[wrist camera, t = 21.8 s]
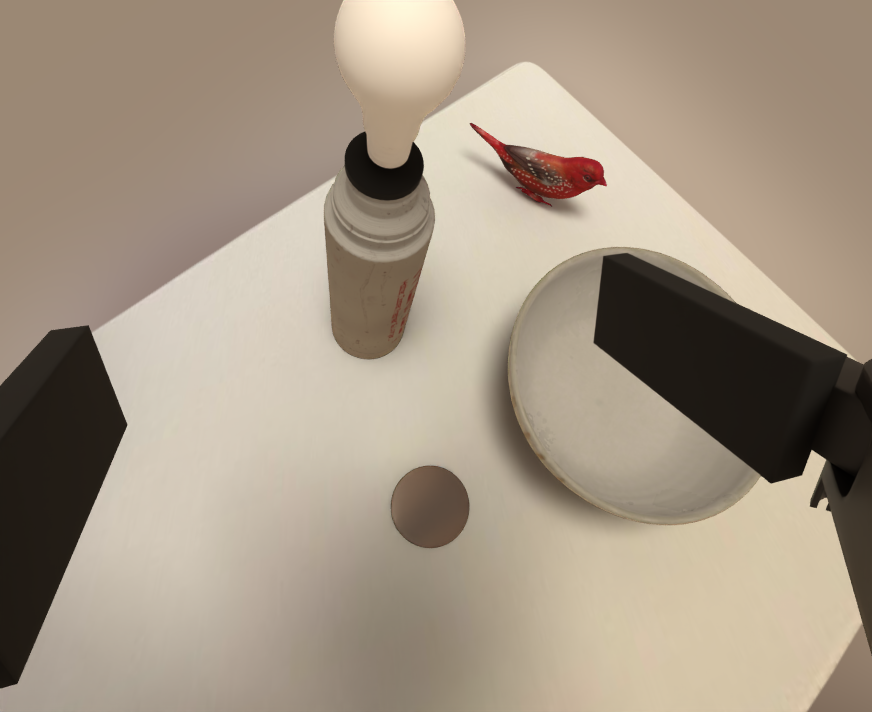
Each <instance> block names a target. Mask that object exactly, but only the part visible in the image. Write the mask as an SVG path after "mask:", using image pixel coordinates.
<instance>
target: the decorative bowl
mask: <svg viewBox="0 0 872 712" xmlns="http://www.w3.org/2000/svg"><path fill="white" fill-rule="evenodd" d="M621 253H629V254H631V255H633V256H635V257H637V258H640V259H642V260H644V261H646V262H648V263H650V264H652V265H655V266H657V267H659V268H661V269H663V270H665V271H668V272H670V273H672V274H674V275H676V276H678V277H681V278H683V279H685V280H687V281H689V282H691V283H693V284H696V285H698V286H700V287H702V288H704V289H706V290H709V291H711V292H713V293H715V294H717V295H719V296H722V297H724V298H726V299H728V300H730V301H732V302H735V301H734V300H733V299H732V298H731V297H730V296H729V295H728V294H727V293H726V292H725V291H724V290H723V289H722V288H721V287H720V286H718V285H717V284H716V283H715V282H713V281H712V280H711V279H710V278H708V277H707V276H705V275H704V274H703V273H701V272H699V271H698V270H696V269H695V268H693V267H691V266H689V265H687V264H686V263H684V262H681V261H679V260H677V259H675V258H672V257H670V256H667V255H664V254H661V253H658V252H654V251H650V250H645V249H639V248H630V247H611V248H602V249H596V250H592V251H588V252H585V253H582V254H579V255H577V256H574V257H572V258H570V259H568V260H566V261H564V262H562V263H561V264H559V265H558V266H556V267H555V268H553V269H552V270H551V271H549V272H548V273H547V274H546V275H545V276H544V277H543V278H542V279H541V280H540V281H539V282H538V283H537V284H536V285H535V287H534V288H533V289H532V291H531V292H530V293H529V295H528V296H527V298H526V300H525V301H524V303H523V305H522V307H521V309H520V311H519V314H518V316H517V319H516V321H515V324H514V328H513V331H512V335H511V340H510V345H509V354H508V381H509V390H510V395H511V400H512V404H513V408H514V411H515V414H516V417H517V420H518V423H519V425H520V427H521V430H522V432H523V434H524V436H525V438H526V439H527V441H528V443H529V445H530V446H531V448H532V449H533V451H534V452H535V454H536V455H537V456H538V458H539V459H540V460H541V462H542V463H543V464H544V465H545V466H546V468H547V469H548V470H549V471H550V472H551V473H552V474H553V475H554V476H555V477H556V478H557V479H558V480H559V481H560V482H562V483H563V484H564V485H565V486H566V487H568V488H569V489H570V490H571V491H573V492H574V493H575V494H577V495H578V496H580V497H581V498H583V499H584V500H586V501H588V502H589V503H591V504H593V505H595V506H597V507H598V508H600V509H603V510H605V511H607V512H609V513H612V514H614V515H617V516H620V517H622V518H626V519H629V520H633V521H637V522H642V523H647V524H656V525H680V524H688V523H693V522H697V521H701V520H705V519H707V518H710V517H712V516H715V515H717V514H719V513H721V512H723V511H725V510H726V509H728V508H729V507H731V506H733V505H734V504H735V503H737V502H738V501H739V500H740V499H742V498H743V497H744V496H745V495H746V494H747V493H748V492H749V491H750V489H751V488H752V487H753V486H754V485H755V484H756V482H757V481H758V479H759V478H760V476H761V475H760V474H758V473H757V472H756V471H754V470H753V469H752V468H751V467H749V466H748V465H747V464H746V463H744V462H743V461H742V460H741V459H739V458H738V457H737V456H736V455H734V454H733V453H732V452H730V451H729V450H728V449H727V448H725V447H724V446H723V445H722V444H720V443H719V442H718V441H717V440H715V439H714V438H713V437H712V436H710V435H709V434H708V433H706V432H705V431H704V430H703V429H701V428H700V427H699V426H698V425H696V424H695V423H694V422H693V421H691V420H690V419H689V418H688V417H686V416H685V415H684V414H682V413H681V412H680V411H679V410H677V409H676V408H675V407H674V406H672V405H671V404H670V403H669V402H667V401H666V400H665V399H663V398H662V397H661V396H660V395H658V394H657V393H656V392H655V391H653V390H652V389H651V388H650V387H648V386H647V385H646V384H645V383H643V382H642V381H641V380H639V379H638V378H637V377H636V376H634V375H633V374H632V373H631V372H629V371H628V370H627V369H626V368H624V367H623V366H622V365H621V364H619V363H618V362H617V361H615V360H614V359H613V358H612V357H610V356H609V355H608V354H607V353H605V352H604V351H603V350H602V349H600V348H599V347H598V346H597V345H595V344H594V343H593V341H594V332H595V324H596V315H597V306H598V297H599V288H600V280H601V271H602V262H603V256H606V255H614V254H621ZM735 303H736V302H735Z"/></svg>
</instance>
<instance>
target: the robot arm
mask: <svg viewBox="0 0 872 712" xmlns="http://www.w3.org/2000/svg"><path fill="white" fill-rule="evenodd" d="M593 343H594V344H595V345H597V346H598V347H599V348H600V349H602V350H603V351H604V352H605V353H607V354H608V355H609V356H610V357H612V358H613V359H614V360H615V361H617V362H618V363H619V364H621V365H622V366H623V367H624V368H626V369H627V370H628V371H629V372H631V373H632V374H633V375H634V376H636V377H637V378H638V379H639V380H641V381H642V382H643V383H645V384H646V385H647V386H648V387H650V388H651V389H652V390H653V391H655V392H656V393H657V394H658V395H660V396H661V397H662V398H663V399H665V400H666V401H667V402H669V403H670V404H671V405H672V406H674V407H675V408H676V409H677V410H679V411H680V412H681V413H682V414H684V415H685V416H686V417H688V418H689V419H690V420H691V421H693V422H694V423H695V424H696V425H698V426H699V427H700V428H701V429H703V430H704V431H705V432H706V433H708V434H709V435H710V436H712V437H713V438H714V439H715V440H717V441H718V442H719V443H720V444H722V445H723V446H724V447H725V448H727V449H728V450H729V451H730V452H732V453H733V454H734V455H736V456H737V457H738V458H739V459H741V460H742V461H743V462H744V463H746V464H747V465H748V466H749V467H751V468H752V469H753V470H754V471H756V472H757V473H758V474H760V475H761V476H762V477H763V478H765V479H766V480H767V481H768V482H770V483H775V482H779V481H782V480H786V479H790V478H794V477H797V476H801V475H802V474H803V471H804V468H805V466H806V463H807V460H808V458H809V455H810V452H811V450H813V451H815V452H816V453H818V454H819V455H820V456H822V457H823V458H825V459H826V462H825V465H824V467H823V470H822V472H821V475H820V477H819V480H818V482H817V485H816V488H815V490H814V493H813V495H812V498H811V501H810V507H814V508H817V506H818V503H819V501H820V500H821V499H823V498H827V499H828V502H829V503H828V505H827V508H826V510H827V511H831V513H832V516H833V520H834V523H835V527H836V531H837V534H838V538H839V541H840V545H841V548H842V552H843V555H844V559H845V562H846V566H847V569H848V573H849V576H850V580H851V584H852V587H853V591H854V594H855V598H856V601H857V605H858V608H859V612H860V615H861V619H862V622H863V626H864V629H865V633H866V637H867V640H868V643H869V647H870V651H871V654H872V359H871V360H869V361H868V362H866V363H865V364H864V365H863V364H861V363H859V362H857V361H855V360H853V359H851V358H848V357H847V354H845V353H842V352H840V351H838V350H836V349H834V348H832V347H830V346H827V345H825V344H823V343H821V342H819V341H817V340H814V339H812V338H810V337H808V336H806V335H804V334H801V333H799V332H797V331H795V330H793V329H791V328H788V327H786V326H784V325H782V324H780V323H778V322H776V321H773V320H771V319H769V318H767V317H765V316H763V315H760V314H758V313H756V312H754V311H752V310H750V309H747V308H745V307H743V306H741V305H739V304H737V303H735V302H732V301H730V300H728V299H726V298H724V297H722V296H719V295H717V294H715V293H713V292H711V291H709V290H706V289H704V288H702V287H700V286H698V285H696V284H693V283H691V282H689V281H687V280H685V279H683V278H681V277H678V276H676V275H674V274H672V273H670V272H668V271H665V270H663V269H661V268H659V267H657V266H655V265H652V264H650V263H648V262H646V261H644V260H642V259H640V258H637V257H635V256H633V255H631V254H629V253H621V254H614V255H606V256H603V262H602V271H601V280H600V288H599V297H598V306H597V315H596V324H595V332H594V341H593ZM126 427H127V422H126V420H125V417H124V415H123V412H122V410H121V407H120V405H119V402H118V399H117V397H116V394H115V392H114V389H113V387H112V384H111V382H110V379H109V376H108V374H107V371H106V369H105V366H104V364H103V361H102V359H101V356H100V353H99V351H98V348H97V346H96V343H95V341H94V338H93V336H92V333H91V330H90V328H89V326H80V327H73V328H65V329H58V330H51V331H50V332H49V333H48V334H47V335H46V336H45V337H44V338H43V340H41V342H40V343H39V344H38V345H37V346H36V347H35V348H34V349H33V350H32V351H31V353H30V354H29V355H28V356H27V357H26V358H25V359H24V360H23V362H22V363H21V364H20V365H19V366H18V367H17V368H16V369H15V370H14V371H13V372H12V373H11V375H10V376H9V377H8V378H7V379H6V380H5V381H4V382H3V383H2V385H1V386H0V688H4V687H8V686H11V685H15V684H17V683H18V681H19V679H20V676H21V674H22V672H23V669H24V667H25V665H26V662H27V660H28V658H29V655H30V653H31V651H32V648H33V646H34V644H35V641H36V639H37V636H38V634H39V632H40V629H41V627H42V625H43V622H44V620H45V618H46V615H47V613H48V611H49V608H50V606H51V604H52V601H53V599H54V596H55V594H56V592H57V589H58V587H59V585H60V582H61V580H62V578H63V575H64V573H65V571H66V568H67V566H68V564H69V561H70V559H71V557H72V554H73V552H74V549H75V547H76V545H77V542H78V540H79V538H80V535H81V533H82V531H83V528H84V526H85V524H86V521H87V519H88V517H89V514H90V512H91V510H92V507H93V505H94V502H95V500H96V498H97V495H98V493H99V491H100V488H101V486H102V484H103V481H104V479H105V477H106V474H107V472H108V470H109V467H110V465H111V462H112V460H113V458H114V455H115V453H116V451H117V448H118V446H119V444H120V441H121V439H122V437H123V434H124V432H125V430H126Z"/></svg>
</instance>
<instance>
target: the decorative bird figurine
mask: <svg viewBox="0 0 872 712" xmlns="http://www.w3.org/2000/svg"><path fill="white" fill-rule="evenodd" d="M470 125H471V127H472V128H473V129H474V130H475V131H476V132H477V133H478V134H479V135H480V136H481V137H482V138H483V139H484V140H485V141H486V142H488V143H489V144H490V145H491V146H492V147H493V148H494V150H495V151H496V152H497V154H498V155H499V157H500V159H501V161H502V163H503V165H504V167H505V168H506V169H507V170H508V171H509V172H510V173H511V174H512V175H513V176H514V177H515V178H516V179H517V180H518V182H519V183H520V184H521V185H522V186H524V187H525V188H526V189H525V188H522V187H516V188H518V189H522V190H521V191H522V192H523V193H525V194H527V195H528V196H530V197H532V198H533V199H534V200H535V201H538V202H542V203H545V204H548V205H550V206H552V205H551V204H549V203H547V202H545V201H544V200H543V199H542V197H540V196H538V195H541V196H544V197H548V198H555V199H565V198H571V197H574V196H577V195H579V194H581V193H582V192H584V191H586V190H589V189H591V188H593V187H594V186H596V185H598V184H599V185H603V186H607V184H606V181H605V179H604V177H603V176H604V170H603V167H602V165H601V164H600V163H599V162H598V161H596V160H593V159H589V158H584V157H572V158H564V157H560V156H556V155H552V154H549V153H545V152H542V151H539V150H535V149H531V148H527V147H521V146H514V145H505V144H503V143H502V142H500V141H498V140H497V139H495V138H494V137H493V136H491V135H490V134H488V133H487V132H485V131H484V130H482V129H481V128H479V127H478V126H476V125H474V124H472V123H470ZM535 193H536V194H538V195H536V194H535Z"/></svg>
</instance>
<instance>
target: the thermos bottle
mask: <svg viewBox="0 0 872 712" xmlns="http://www.w3.org/2000/svg"><path fill="white" fill-rule="evenodd" d="M423 169H424V162H423V157H422V154H421V152H420V150H419V148H418V147H417V146H416V144H415V143H414V142H412V146H411V150H410V154H409V157H408V159H407V161H406V162H405V163H404V164H403V165H401V166H399V167H397V168H384V167H381V166H379V165H377V164H376V163H374V162H373V161H372V160H371V158H370V157H369V155H368V150H367V134H366V132H363V133H361V134H359V135H357V136H356V137H355V138H354V139H353V140H352V141H351V142H350V143H349V145H348V147H347V149H346V153H345V165H344V167H343V168H342V169H341V170H340V171H339V173H338V175H337V177H336V179H335V183H334V184H333V185H332V187H331V188H330V190H329V192H328V194H327V196H326V200H325V204H324V225H325V239H326V253H327V267H328V280H329V292H330V308H331V322H332V331H333V335H334V337H335V340H336V341H337V343H338V344H339V346H340V347H341V348H342V349H343V350H344V351H346V352H347V353H349V354H350V355H353V356H355V357H358V358H363V359H374V358H379V357H382V356H385V355H387V354H388V353H390V352H391V351H392V350H393V349H394V348H395V347H396V346H397V345H398V343H399V342H400V340H401V338H402V335H403V332H404V328H405V325H406V322H407V318H408V315H409V311H410V308H411V305H412V301H413V298H414V294H415V291H416V287H417V284H418V281H419V277H420V274H421V270H422V267H423V264H424V260H425V257H426V253H427V250H428V246H429V243H430V240H431V236H432V233H433V229H434V223H435V212H434V207H433V204H432V201H431V199H430V191H429V188H428V184H427V182H426V180H425V178H424V176H423V175H422V174H423Z"/></svg>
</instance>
